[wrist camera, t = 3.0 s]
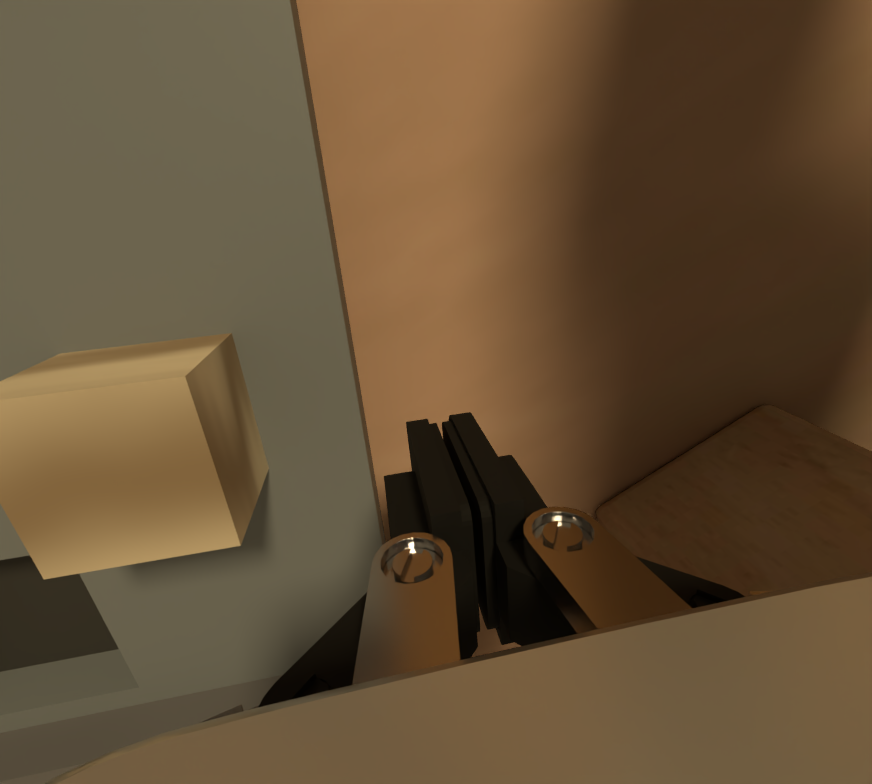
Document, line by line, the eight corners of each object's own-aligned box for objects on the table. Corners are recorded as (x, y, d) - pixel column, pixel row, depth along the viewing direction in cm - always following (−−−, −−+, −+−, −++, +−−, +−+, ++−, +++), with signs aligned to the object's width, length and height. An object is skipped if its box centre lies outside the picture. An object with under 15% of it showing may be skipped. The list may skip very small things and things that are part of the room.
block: (60, 353, 13) (-55, 407, 10) (231, 333, 14) (184, 375, 10) (120, 491, 15) (43, 579, 12) (268, 468, 16) (241, 545, 12)
